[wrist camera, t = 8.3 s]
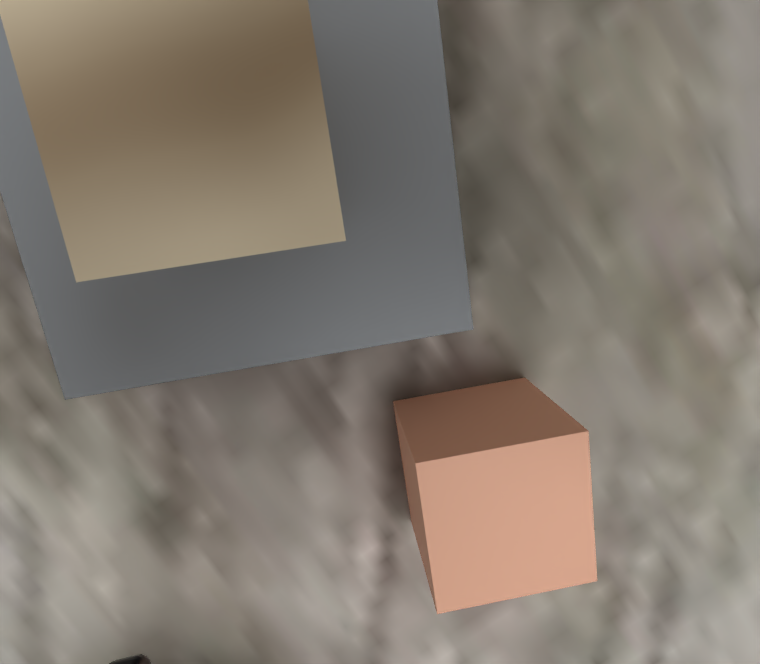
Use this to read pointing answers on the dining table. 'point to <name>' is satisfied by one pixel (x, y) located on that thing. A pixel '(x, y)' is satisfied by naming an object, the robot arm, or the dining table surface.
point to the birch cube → (176, 128)
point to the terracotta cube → (497, 493)
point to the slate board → (281, 268)
